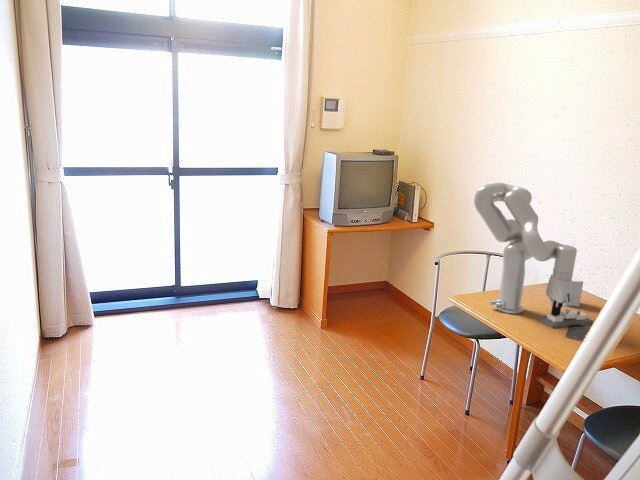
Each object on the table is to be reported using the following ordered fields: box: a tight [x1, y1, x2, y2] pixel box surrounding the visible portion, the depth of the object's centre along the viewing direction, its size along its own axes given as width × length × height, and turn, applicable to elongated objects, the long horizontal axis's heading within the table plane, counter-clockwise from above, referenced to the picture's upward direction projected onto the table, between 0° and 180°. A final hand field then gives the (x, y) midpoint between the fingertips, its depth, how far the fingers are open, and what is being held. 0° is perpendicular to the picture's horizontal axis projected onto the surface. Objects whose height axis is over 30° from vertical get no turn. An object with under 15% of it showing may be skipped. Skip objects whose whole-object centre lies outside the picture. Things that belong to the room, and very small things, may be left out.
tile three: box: [571, 310, 588, 320], centre depth 217 cm, size 5×5×2 cm
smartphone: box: [565, 324, 590, 342], centre depth 207 cm, size 7×1×16 cm
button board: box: [538, 315, 594, 329], centre depth 216 cm, size 21×8×2 cm, turn 105°
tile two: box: [560, 309, 576, 319], centre depth 216 cm, size 5×5×2 cm
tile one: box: [546, 312, 564, 322], centre depth 214 cm, size 5×5×2 cm
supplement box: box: [567, 276, 584, 307], centre depth 236 cm, size 7×7×13 cm
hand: (555, 314), depth 214 cm, fingers closed
